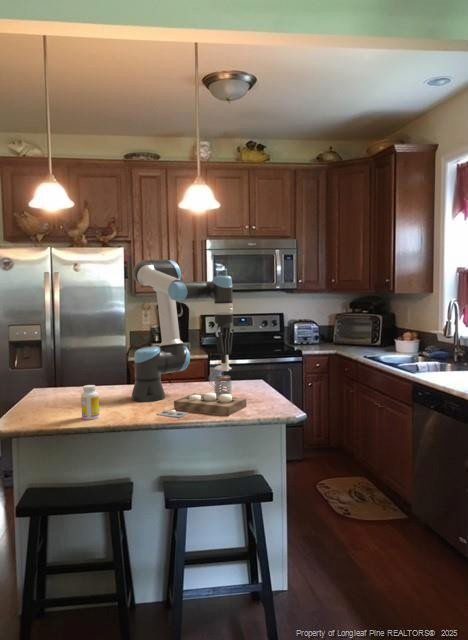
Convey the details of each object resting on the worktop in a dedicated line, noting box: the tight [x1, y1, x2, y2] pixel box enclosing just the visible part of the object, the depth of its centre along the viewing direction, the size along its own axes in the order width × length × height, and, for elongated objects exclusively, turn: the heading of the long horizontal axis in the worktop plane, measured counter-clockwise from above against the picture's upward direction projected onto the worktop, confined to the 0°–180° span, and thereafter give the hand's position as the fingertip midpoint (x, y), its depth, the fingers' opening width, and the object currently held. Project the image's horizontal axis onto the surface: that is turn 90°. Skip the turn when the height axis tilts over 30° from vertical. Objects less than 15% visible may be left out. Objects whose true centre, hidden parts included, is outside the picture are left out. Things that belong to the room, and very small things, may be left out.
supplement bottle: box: [80, 384, 100, 421], centre depth 203 cm, size 7×7×13 cm
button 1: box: [189, 394, 201, 400], centre depth 220 cm, size 5×5×3 cm
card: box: [156, 409, 190, 418], centre depth 207 cm, size 11×7×2 cm, turn 63°
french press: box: [208, 364, 234, 397], centre depth 235 cm, size 10×12×25 cm
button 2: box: [203, 392, 216, 402], centre depth 216 cm, size 5×5×3 cm
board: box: [173, 392, 247, 417], centre depth 216 cm, size 26×16×4 cm, turn 63°
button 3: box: [220, 394, 233, 404], centre depth 213 cm, size 5×5×3 cm
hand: (225, 370), depth 212 cm, fingers closed
